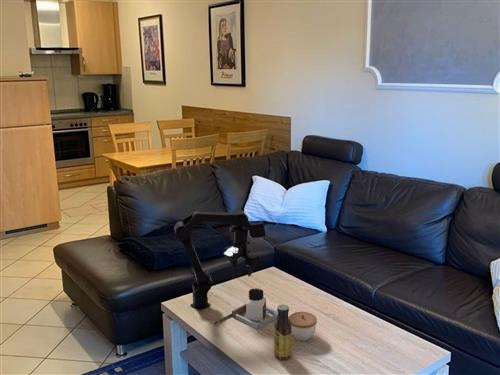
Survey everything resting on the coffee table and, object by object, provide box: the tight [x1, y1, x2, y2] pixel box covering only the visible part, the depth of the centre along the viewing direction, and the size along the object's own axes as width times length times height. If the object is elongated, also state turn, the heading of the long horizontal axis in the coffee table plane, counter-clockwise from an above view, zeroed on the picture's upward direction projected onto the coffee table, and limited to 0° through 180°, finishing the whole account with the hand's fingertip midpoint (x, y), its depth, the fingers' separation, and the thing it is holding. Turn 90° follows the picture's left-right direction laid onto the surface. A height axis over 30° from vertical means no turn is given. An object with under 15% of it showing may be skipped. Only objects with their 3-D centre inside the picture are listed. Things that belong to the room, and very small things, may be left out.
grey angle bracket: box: [234, 305, 278, 330], centre depth 203 cm, size 12×14×2 cm
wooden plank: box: [231, 303, 247, 317], centre depth 209 cm, size 1×14×2 cm, turn 135°
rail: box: [213, 312, 233, 325], centre depth 207 cm, size 1×23×1 cm, turn 136°
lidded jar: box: [288, 311, 318, 342], centre depth 188 cm, size 11×11×9 cm
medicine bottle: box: [245, 287, 267, 322], centre depth 203 cm, size 7×7×12 cm
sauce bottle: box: [273, 304, 293, 361], centre depth 174 cm, size 6×6×20 cm
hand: (241, 273), depth 215 cm, fingers open, 9 cm apart
